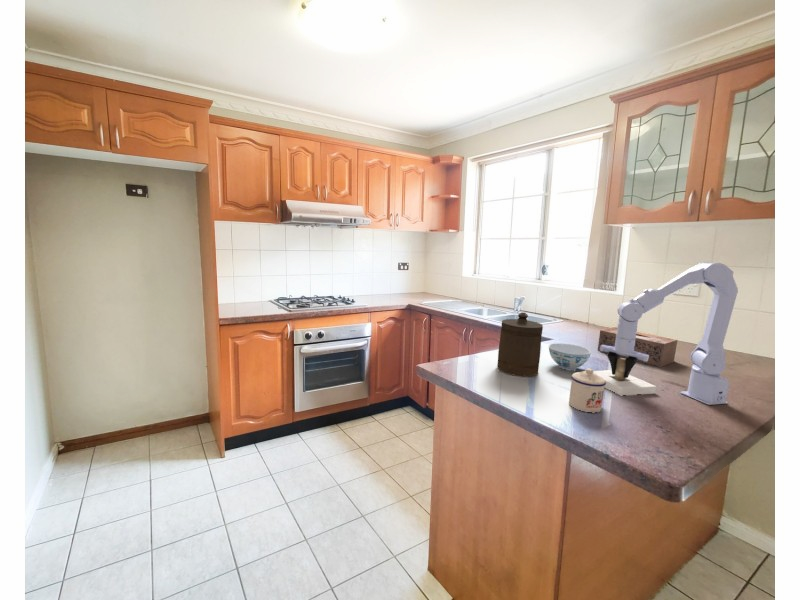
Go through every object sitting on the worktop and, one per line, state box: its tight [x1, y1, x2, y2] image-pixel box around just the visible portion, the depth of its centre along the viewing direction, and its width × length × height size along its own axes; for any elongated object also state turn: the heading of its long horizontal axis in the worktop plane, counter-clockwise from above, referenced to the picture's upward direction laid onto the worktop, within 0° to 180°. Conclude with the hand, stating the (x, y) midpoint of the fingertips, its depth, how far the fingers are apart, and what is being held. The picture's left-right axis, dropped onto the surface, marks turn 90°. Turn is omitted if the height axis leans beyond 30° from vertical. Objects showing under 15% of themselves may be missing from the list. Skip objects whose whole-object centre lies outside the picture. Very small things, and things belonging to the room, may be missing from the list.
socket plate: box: [593, 369, 657, 397], centre depth 129 cm, size 16×14×2 cm
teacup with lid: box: [568, 367, 606, 414], centre depth 110 cm, size 12×9×12 cm
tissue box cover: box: [597, 327, 678, 368], centre depth 167 cm, size 26×14×10 cm, turn 36°
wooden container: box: [497, 312, 544, 377], centre depth 139 cm, size 15×15×22 cm
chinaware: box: [548, 342, 592, 371], centre depth 146 cm, size 15×15×8 cm
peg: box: [614, 357, 626, 381], centre depth 129 cm, size 3×3×8 cm
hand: (620, 375), depth 129 cm, fingers closed on peg, 3 cm apart
